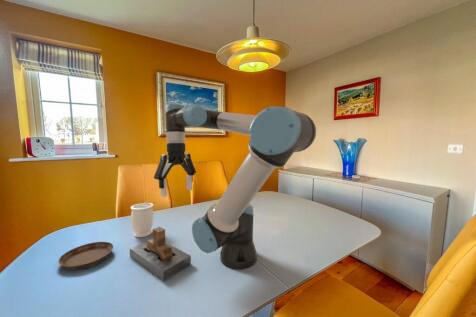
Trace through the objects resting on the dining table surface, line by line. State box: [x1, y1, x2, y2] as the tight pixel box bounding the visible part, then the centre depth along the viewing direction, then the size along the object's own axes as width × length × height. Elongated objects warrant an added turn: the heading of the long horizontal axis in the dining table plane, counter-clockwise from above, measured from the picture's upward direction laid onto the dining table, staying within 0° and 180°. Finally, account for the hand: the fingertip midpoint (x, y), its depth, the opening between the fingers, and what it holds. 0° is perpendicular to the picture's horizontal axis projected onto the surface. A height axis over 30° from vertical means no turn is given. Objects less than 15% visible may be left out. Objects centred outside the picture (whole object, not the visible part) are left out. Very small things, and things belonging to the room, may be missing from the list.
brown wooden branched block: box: [146, 226, 173, 262], centre depth 80 cm, size 12×4×13 cm, turn 53°
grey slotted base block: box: [129, 241, 192, 282], centre depth 80 cm, size 24×12×4 cm, turn 53°
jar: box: [130, 202, 155, 238], centre depth 103 cm, size 11×10×15 cm
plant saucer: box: [57, 241, 114, 271], centre depth 81 cm, size 18×18×3 cm
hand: (177, 192), depth 85 cm, fingers open, 13 cm apart
